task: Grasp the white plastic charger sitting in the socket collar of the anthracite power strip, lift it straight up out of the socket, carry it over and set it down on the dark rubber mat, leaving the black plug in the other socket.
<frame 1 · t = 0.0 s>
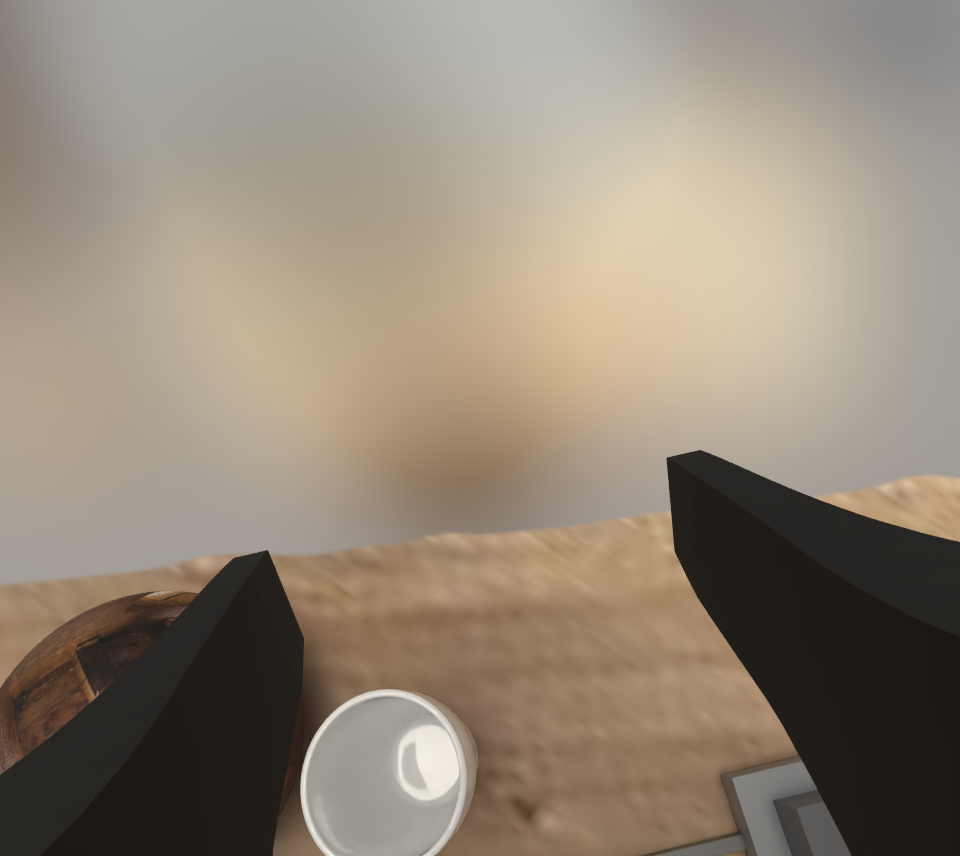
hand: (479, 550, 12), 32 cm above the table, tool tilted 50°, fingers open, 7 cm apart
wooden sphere: (217, 737, 41), on the table
power strip: (906, 799, 37), on the table
drinking glass: (435, 759, 40), on the table
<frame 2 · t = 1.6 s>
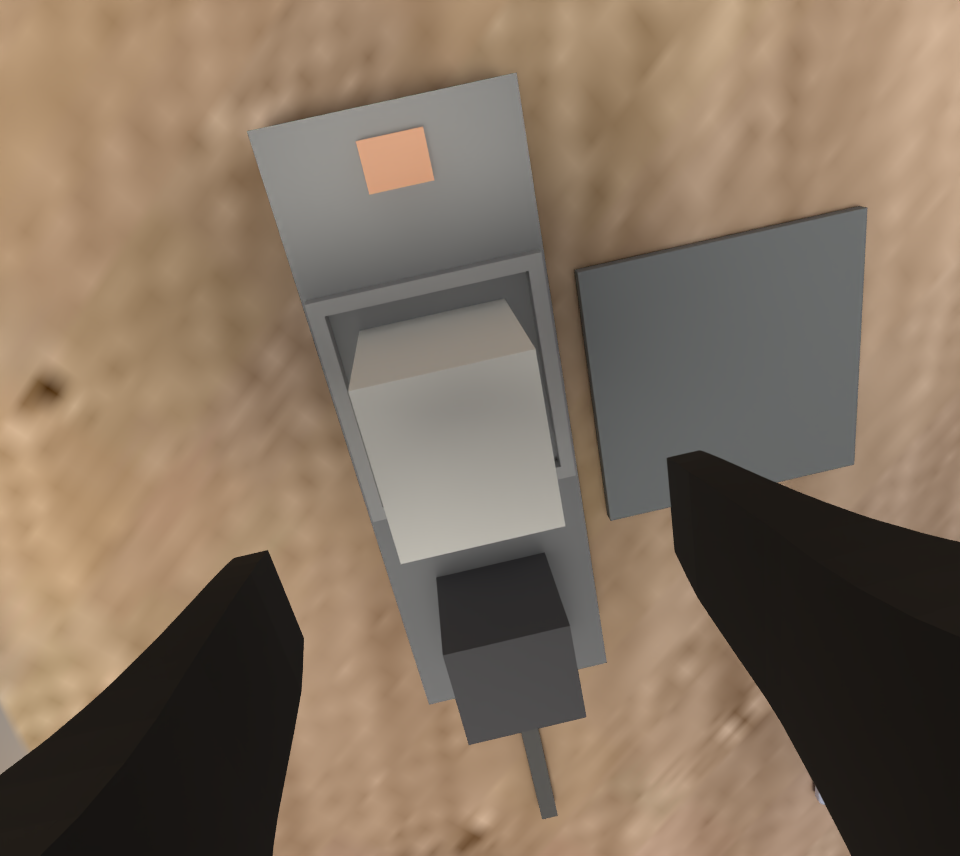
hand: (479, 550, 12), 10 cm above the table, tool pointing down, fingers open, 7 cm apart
power strip: (457, 419, 22), on the table
charger: (449, 390, 19), point 2 cm above the table, touching power strip
felt mat: (723, 373, 22), on the table
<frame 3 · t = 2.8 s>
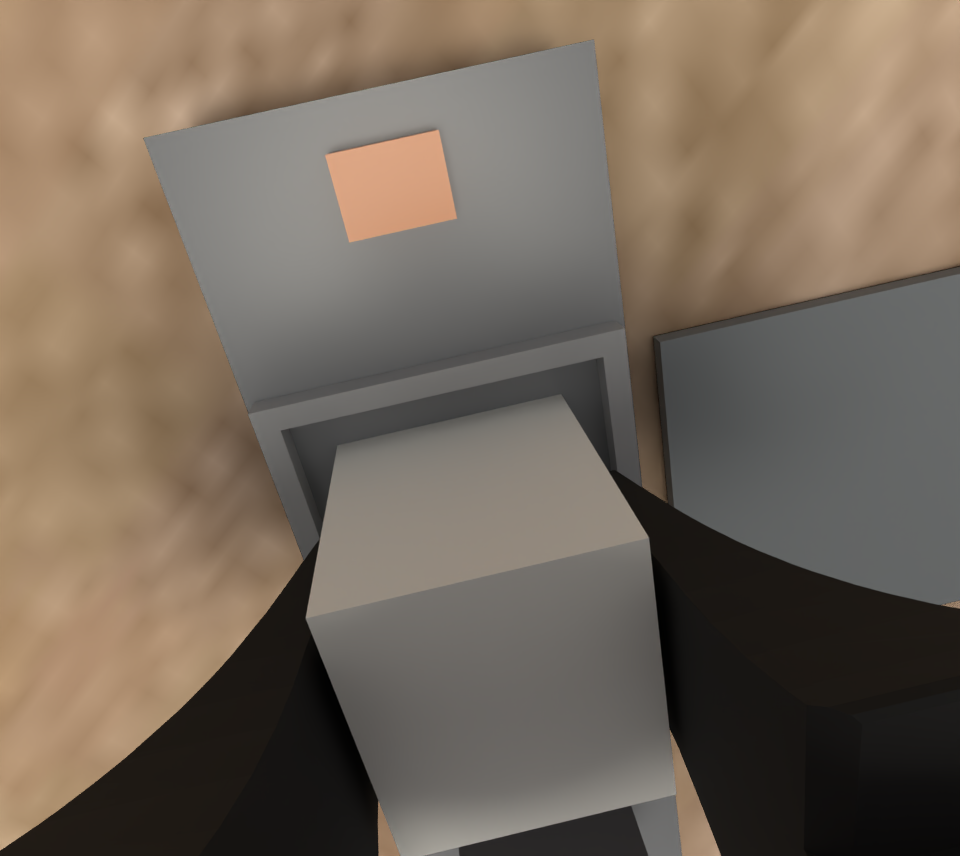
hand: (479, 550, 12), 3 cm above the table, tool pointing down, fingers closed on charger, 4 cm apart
power strip: (481, 540, 16), on the table
charger: (475, 525, 13), point 2 cm above the table, touching gripper, power strip
felt mat: (851, 471, 16), on the table
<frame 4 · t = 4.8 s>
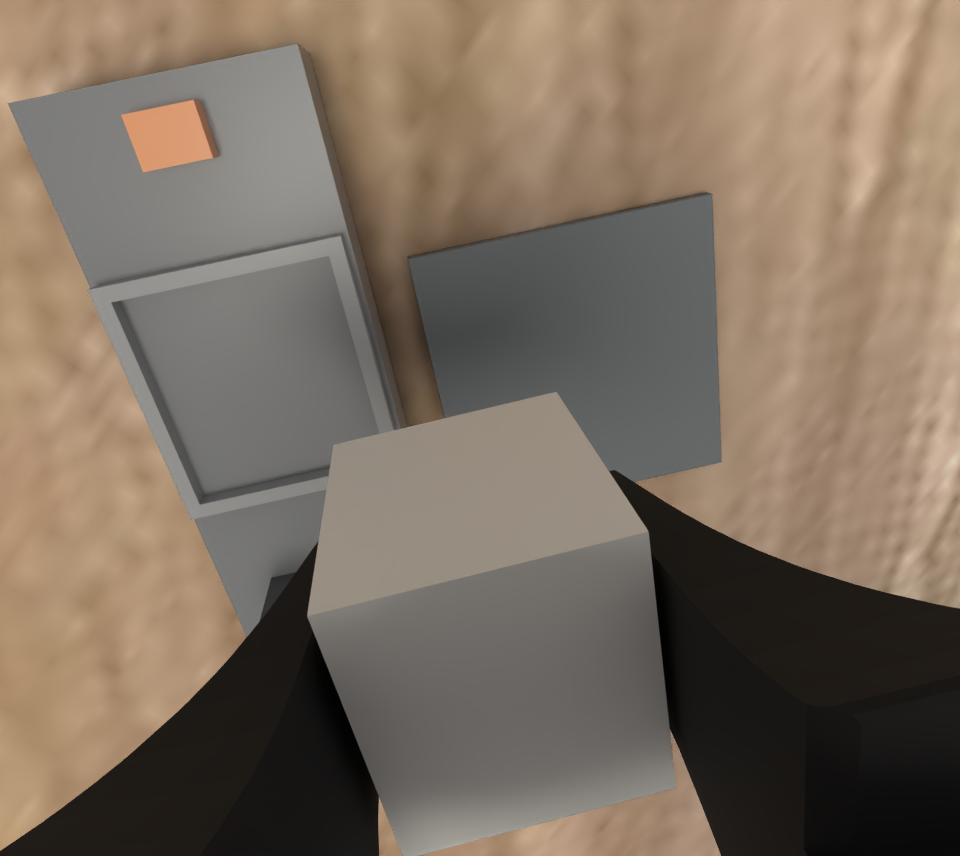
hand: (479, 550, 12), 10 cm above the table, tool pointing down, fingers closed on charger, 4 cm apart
power strip: (297, 413, 21), on the table
charger: (471, 524, 13), point 9 cm above the table, touching gripper
felt mat: (576, 366, 22), on the table
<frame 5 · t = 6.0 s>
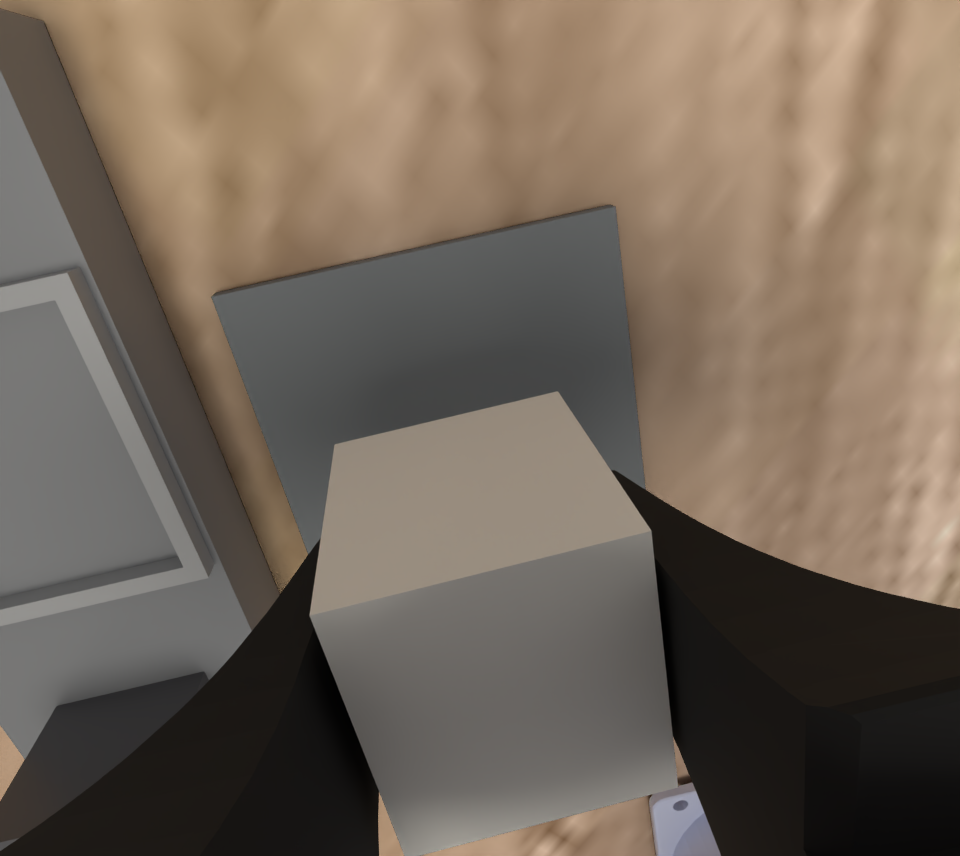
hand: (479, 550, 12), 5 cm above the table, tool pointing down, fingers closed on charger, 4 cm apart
power strip: (94, 491, 16), on the table
charger: (472, 523, 13), point 5 cm above the table, touching gripper
felt mat: (456, 427, 17), on the table
when the fingers open (2 cm above the table, at t = 7.0 s): charger stays where it is, resting on felt mat.
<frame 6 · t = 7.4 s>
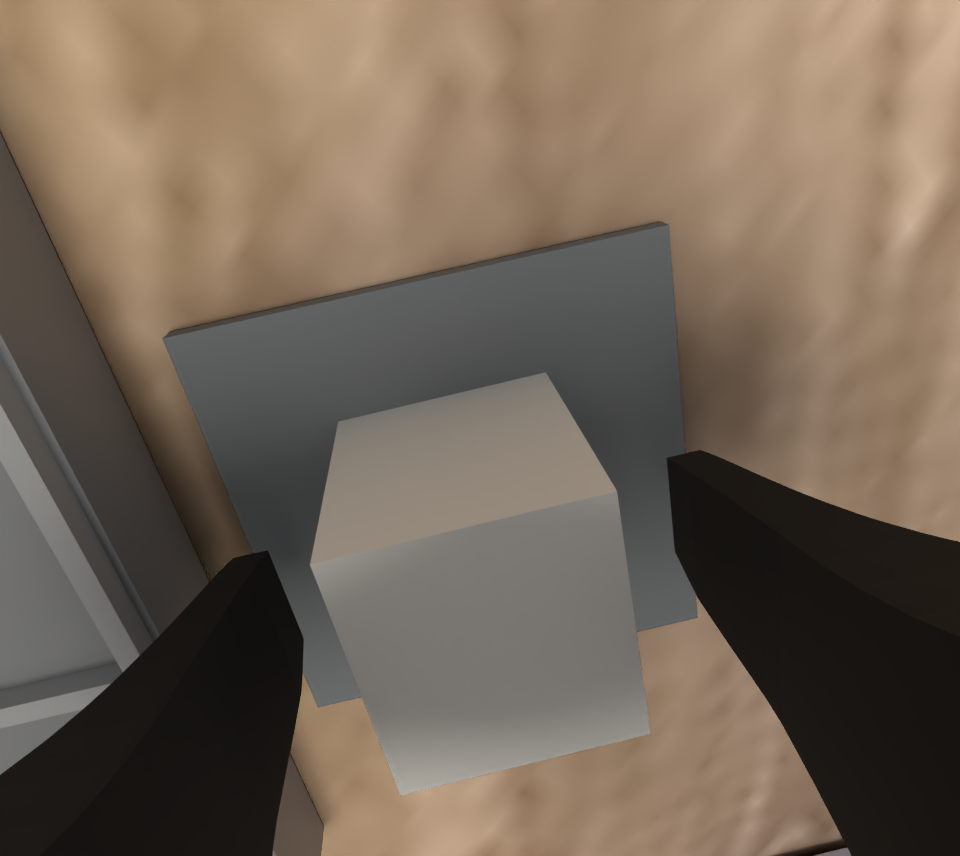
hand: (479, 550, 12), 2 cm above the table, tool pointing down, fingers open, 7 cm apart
power strip: (28, 568, 14), on the table
charger: (467, 497, 14), resting on felt mat
felt mat: (467, 488, 14), on the table
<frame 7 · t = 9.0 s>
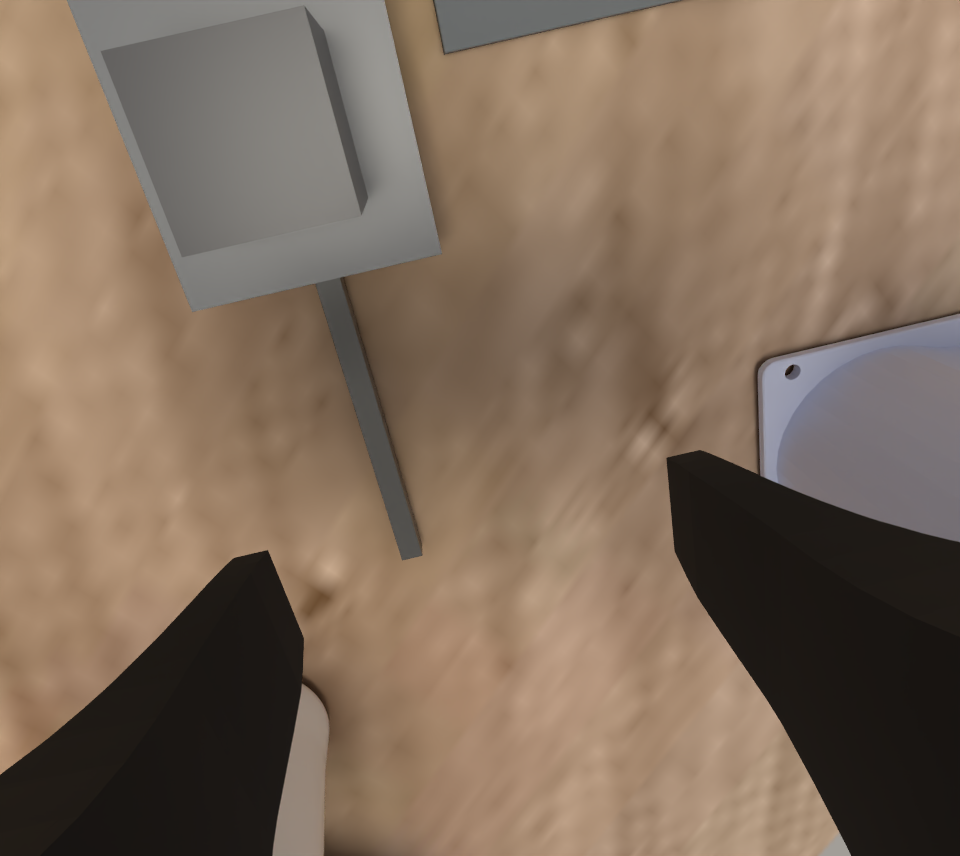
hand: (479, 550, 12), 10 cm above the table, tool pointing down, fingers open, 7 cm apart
drinking glass: (261, 712, 26), on the table
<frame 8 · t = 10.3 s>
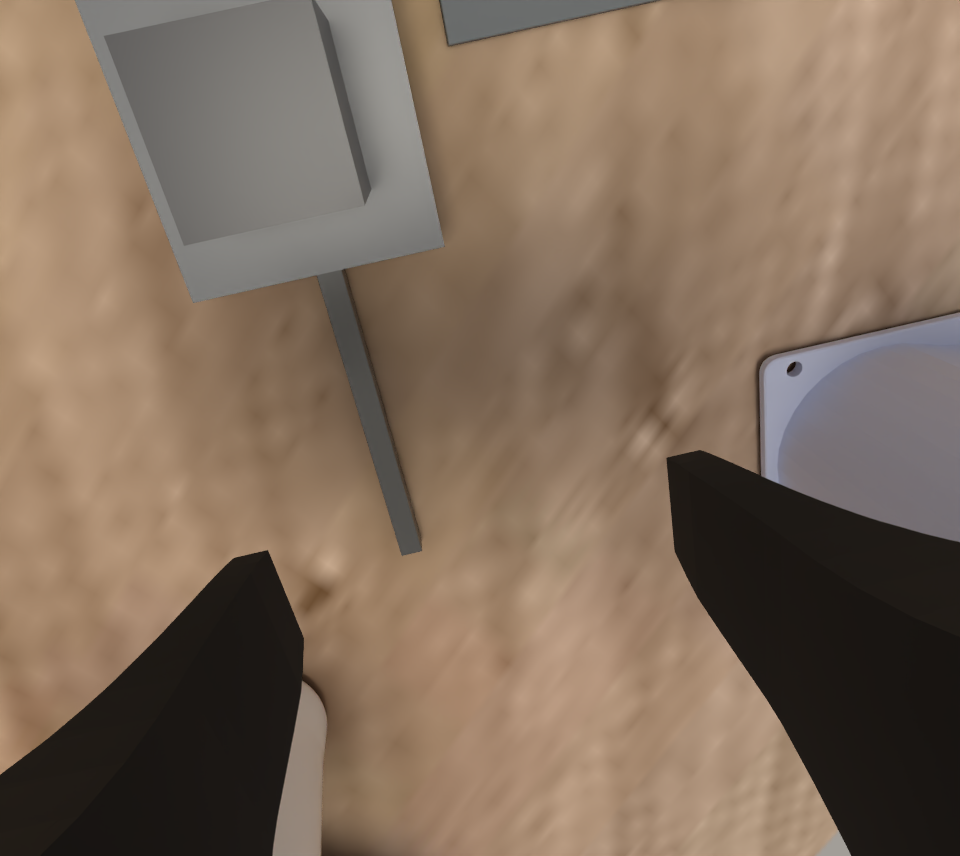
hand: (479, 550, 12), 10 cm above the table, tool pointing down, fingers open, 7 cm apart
drinking glass: (259, 707, 26), on the table
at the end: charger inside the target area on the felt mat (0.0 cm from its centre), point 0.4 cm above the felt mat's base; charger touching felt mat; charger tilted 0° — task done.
